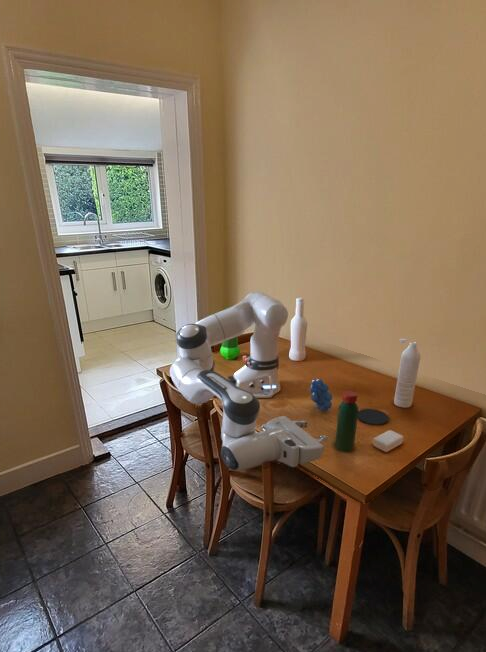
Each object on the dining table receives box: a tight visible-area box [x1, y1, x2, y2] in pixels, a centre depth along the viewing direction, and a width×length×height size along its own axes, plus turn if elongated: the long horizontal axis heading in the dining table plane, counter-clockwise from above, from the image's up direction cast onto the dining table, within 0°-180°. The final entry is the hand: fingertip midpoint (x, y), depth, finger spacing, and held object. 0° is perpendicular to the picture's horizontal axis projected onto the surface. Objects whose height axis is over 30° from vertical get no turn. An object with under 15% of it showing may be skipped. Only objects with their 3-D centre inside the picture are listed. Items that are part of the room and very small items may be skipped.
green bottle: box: [334, 400, 360, 453], centre depth 128 cm, size 6×6×18 cm
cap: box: [342, 390, 358, 403], centre depth 124 cm, size 4×4×2 cm
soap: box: [372, 429, 404, 453], centre depth 132 cm, size 9×6×3 cm, turn 126°
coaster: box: [357, 408, 389, 426], centre depth 148 cm, size 11×11×1 cm
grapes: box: [309, 378, 333, 413], centre depth 152 cm, size 12×7×12 cm, turn 30°
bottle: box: [288, 297, 308, 362], centre depth 196 cm, size 8×8×30 cm
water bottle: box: [393, 337, 421, 409], centre depth 153 cm, size 9×6×25 cm
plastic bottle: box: [219, 306, 241, 360], centre depth 199 cm, size 10×10×25 cm
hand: (315, 430), depth 123 cm, fingers open, 8 cm apart
